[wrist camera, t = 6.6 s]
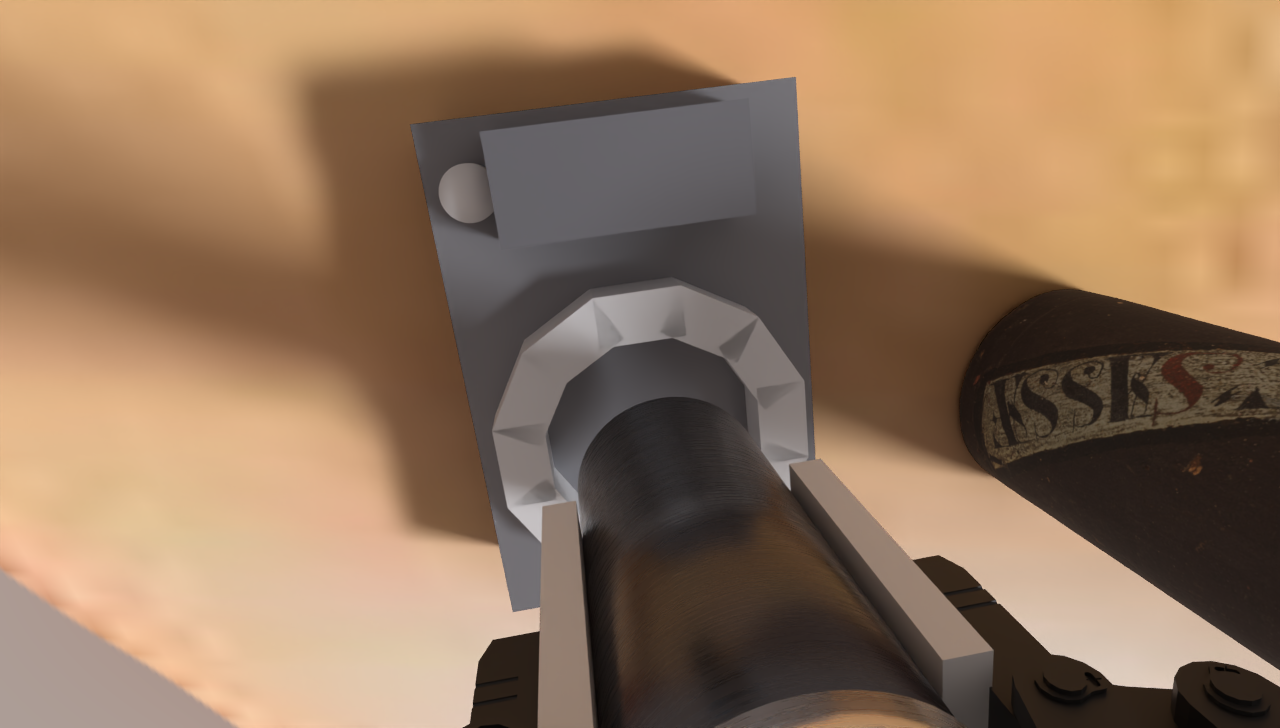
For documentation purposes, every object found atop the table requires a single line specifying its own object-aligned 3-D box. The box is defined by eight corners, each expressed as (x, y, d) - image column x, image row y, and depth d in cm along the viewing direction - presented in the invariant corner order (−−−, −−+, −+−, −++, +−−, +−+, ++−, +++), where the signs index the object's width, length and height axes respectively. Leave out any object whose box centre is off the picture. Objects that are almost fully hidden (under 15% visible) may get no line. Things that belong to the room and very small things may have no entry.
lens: (559, 410, 18) (591, 1258, 4) (757, 378, 18) (1393, 1047, 4) (588, 584, 19) (684, 1621, 6) (770, 551, 20) (1271, 1438, 6)
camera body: (433, 130, 23) (394, 120, 17) (756, 90, 24) (821, 68, 18) (517, 549, 28) (509, 651, 22) (784, 502, 28) (843, 588, 23)
